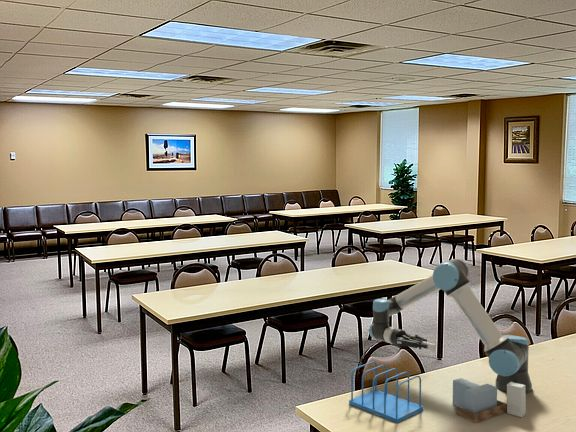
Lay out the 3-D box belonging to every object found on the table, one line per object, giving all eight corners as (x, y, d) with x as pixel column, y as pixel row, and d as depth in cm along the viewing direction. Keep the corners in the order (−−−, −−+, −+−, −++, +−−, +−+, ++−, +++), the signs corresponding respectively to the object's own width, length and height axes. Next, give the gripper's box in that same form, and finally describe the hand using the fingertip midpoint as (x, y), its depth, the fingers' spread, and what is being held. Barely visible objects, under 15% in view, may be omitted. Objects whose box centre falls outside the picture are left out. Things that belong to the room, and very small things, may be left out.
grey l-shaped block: (467, 399, 246) (468, 376, 246) (496, 411, 233) (497, 387, 233) (445, 405, 240) (445, 382, 239) (473, 418, 227) (474, 393, 226)
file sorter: (348, 404, 242) (348, 368, 241) (375, 393, 254) (375, 359, 253) (397, 423, 224) (397, 384, 223) (423, 410, 235) (424, 373, 234)
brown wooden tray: (486, 403, 242) (486, 396, 242) (507, 411, 234) (507, 404, 233) (455, 414, 231) (456, 406, 231) (476, 423, 223) (476, 415, 223)
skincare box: (525, 414, 231) (526, 384, 230) (521, 418, 227) (522, 387, 226) (510, 410, 235) (511, 380, 234) (506, 413, 231) (506, 384, 231)
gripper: (405, 341, 275) (444, 353, 255) (385, 347, 268) (424, 359, 248) (405, 326, 274) (444, 336, 255) (385, 330, 267) (423, 341, 248)
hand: (434, 347), depth 251 cm, fingers closed
